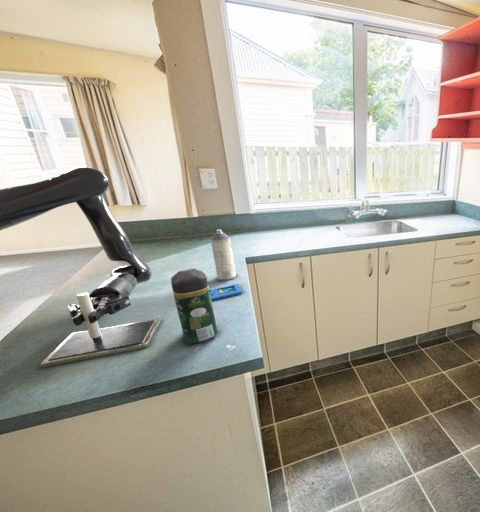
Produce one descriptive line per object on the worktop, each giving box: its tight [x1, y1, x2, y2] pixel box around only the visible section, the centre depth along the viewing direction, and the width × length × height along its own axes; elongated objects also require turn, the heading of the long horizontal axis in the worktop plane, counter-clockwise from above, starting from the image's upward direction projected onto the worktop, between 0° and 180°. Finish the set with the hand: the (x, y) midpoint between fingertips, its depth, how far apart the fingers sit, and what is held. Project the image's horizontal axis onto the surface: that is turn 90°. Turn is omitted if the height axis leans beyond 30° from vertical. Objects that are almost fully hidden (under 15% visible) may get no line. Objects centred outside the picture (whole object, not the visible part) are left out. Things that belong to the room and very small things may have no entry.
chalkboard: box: [40, 318, 162, 368], centre depth 78 cm, size 20×14×1 cm
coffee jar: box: [170, 268, 218, 344], centre depth 79 cm, size 10×8×19 cm
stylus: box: [75, 291, 102, 341], centre depth 75 cm, size 2×2×13 cm
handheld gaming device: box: [209, 283, 243, 301], centre depth 106 cm, size 8×1×15 cm
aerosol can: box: [210, 229, 237, 282], centre depth 118 cm, size 7×7×20 cm
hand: (83, 320), depth 72 cm, fingers closed on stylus, 2 cm apart
